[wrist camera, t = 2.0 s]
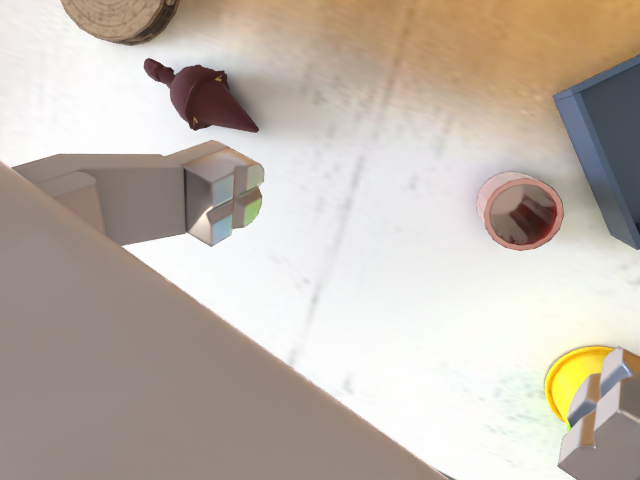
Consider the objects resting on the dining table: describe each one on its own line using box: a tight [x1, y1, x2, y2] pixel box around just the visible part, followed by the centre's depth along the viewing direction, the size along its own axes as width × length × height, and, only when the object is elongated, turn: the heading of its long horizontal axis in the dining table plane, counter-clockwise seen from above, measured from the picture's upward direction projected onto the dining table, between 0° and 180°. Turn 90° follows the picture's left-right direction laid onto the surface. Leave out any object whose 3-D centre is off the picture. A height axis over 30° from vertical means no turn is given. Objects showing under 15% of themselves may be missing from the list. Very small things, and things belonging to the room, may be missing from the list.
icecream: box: [144, 58, 259, 133], centre depth 48 cm, size 7×7×15 cm
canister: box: [477, 172, 564, 251], centre depth 41 cm, size 6×6×9 cm
